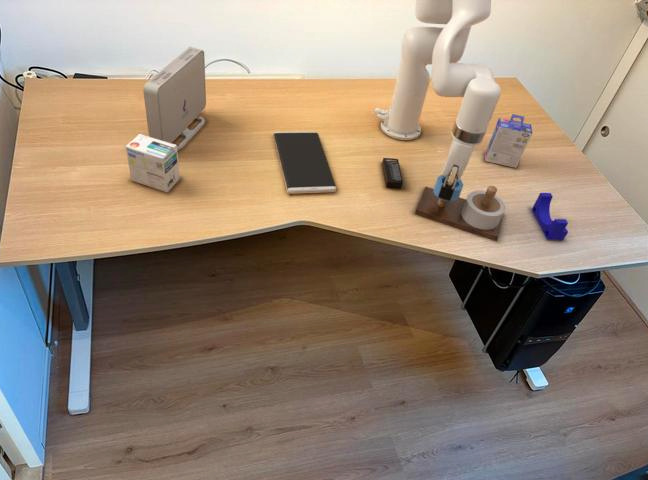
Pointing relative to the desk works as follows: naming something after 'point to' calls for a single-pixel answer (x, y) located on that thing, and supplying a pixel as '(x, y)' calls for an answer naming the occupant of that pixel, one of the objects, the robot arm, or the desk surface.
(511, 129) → the ink cartridge box
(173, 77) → the network device
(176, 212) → the desk surface
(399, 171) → the multiport hub
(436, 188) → the tape roll
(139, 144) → the light bulb box
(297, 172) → the smartphone
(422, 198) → the tape stand
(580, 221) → the desk surface
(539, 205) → the cable clip
